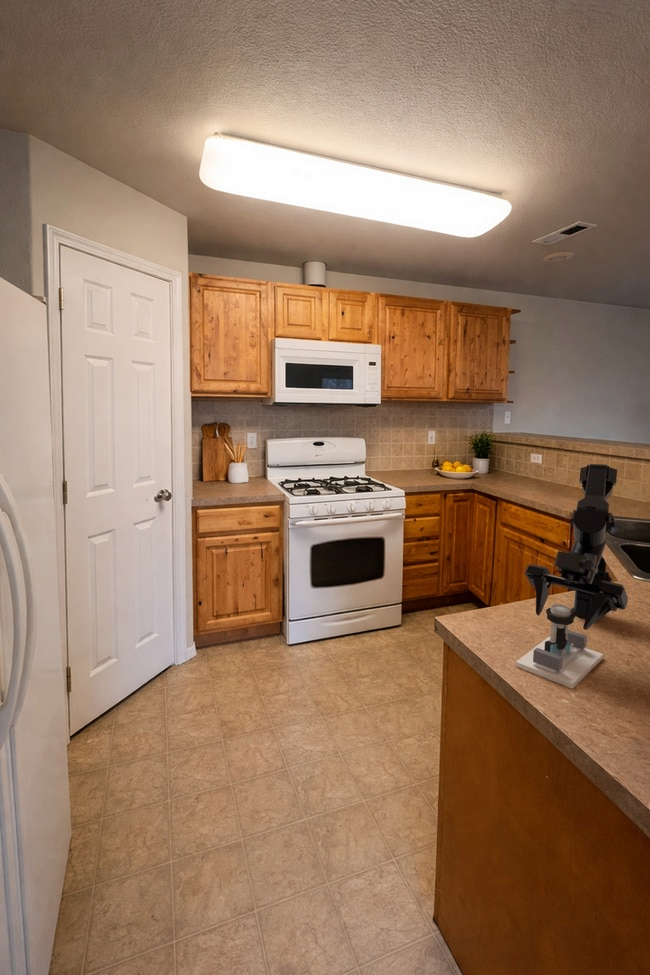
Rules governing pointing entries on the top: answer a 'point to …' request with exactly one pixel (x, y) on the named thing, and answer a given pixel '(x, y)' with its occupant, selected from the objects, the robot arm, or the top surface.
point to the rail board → (562, 661)
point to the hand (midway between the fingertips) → (560, 621)
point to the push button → (559, 629)
